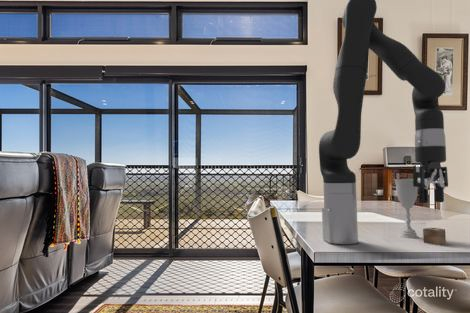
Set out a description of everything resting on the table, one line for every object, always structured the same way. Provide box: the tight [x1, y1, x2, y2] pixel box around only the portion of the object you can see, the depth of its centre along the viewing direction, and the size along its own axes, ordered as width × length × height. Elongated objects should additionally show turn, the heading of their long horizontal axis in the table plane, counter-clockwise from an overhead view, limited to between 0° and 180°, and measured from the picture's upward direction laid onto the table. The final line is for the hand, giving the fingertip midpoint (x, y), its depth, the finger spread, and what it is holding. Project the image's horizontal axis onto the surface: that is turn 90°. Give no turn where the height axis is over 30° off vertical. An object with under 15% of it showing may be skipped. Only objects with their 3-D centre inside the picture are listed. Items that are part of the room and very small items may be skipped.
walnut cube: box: [422, 227, 447, 246], centre depth 88 cm, size 4×4×4 cm
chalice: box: [394, 178, 419, 239], centre depth 98 cm, size 7×7×18 cm
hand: (431, 202), depth 88 cm, fingers open, 8 cm apart
